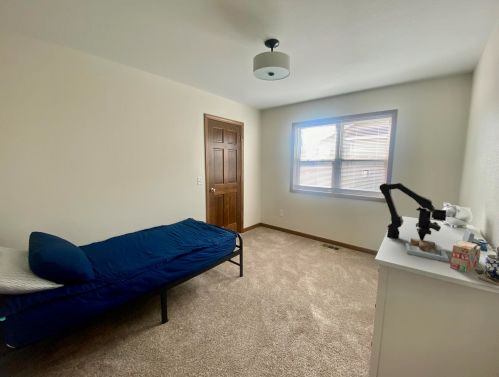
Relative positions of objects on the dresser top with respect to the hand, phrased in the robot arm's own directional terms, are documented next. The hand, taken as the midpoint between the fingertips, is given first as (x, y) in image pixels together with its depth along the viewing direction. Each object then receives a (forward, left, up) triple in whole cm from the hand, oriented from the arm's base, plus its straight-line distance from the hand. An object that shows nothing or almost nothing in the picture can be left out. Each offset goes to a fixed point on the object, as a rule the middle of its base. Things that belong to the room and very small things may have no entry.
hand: (421, 240), depth 140 cm
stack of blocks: (+15, -27, -2) cm, 31 cm away
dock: (0, -20, -2) cm, 20 cm away
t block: (0, -9, -2) cm, 9 cm away
